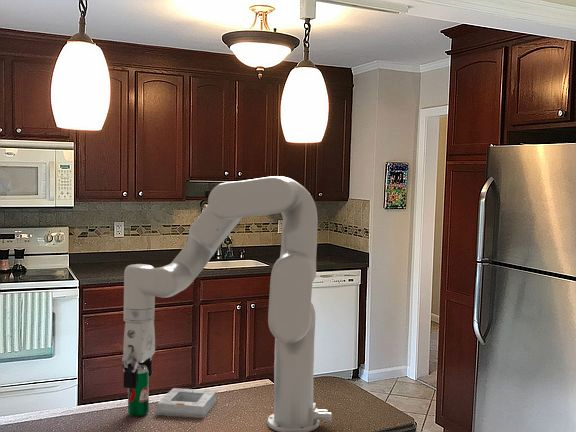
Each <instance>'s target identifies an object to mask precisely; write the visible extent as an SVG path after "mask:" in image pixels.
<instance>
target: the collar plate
mask: <svg viewBox="0 0 576 432" xmlns="http://www.w3.org/2000/svg"><path fill="white" fill-rule="evenodd" d="M216 403H217V390H212V389H211V390H209V389H208V390H207V389H195V388H194V389H192V388H177V387H173V388H172V389H171V390H169V391H168V392H167V393H166V394H165V396H163V397H162V398H161V399H160V400H159V401H158V402H157V403H156V405H157V408H156V409H157V410H156V411H157V412H156V413H157V414H156V416H161V417H162V416H163V417H180V418H191V419H192V418H195V419H204V418H205V417H206V416H207V415H208V413H209V412H210V411H211V410H212V408H213V407H214V405H215V404H216Z"/></svg>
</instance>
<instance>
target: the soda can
mask: <svg viewBox="0 0 576 432" xmlns="http://www.w3.org/2000/svg"><path fill="white" fill-rule="evenodd" d="M132 367H133V365H132ZM135 372H137V387H136V388H127V413H128V415H129V416H130V417H134V418H141V417H144V416H146V415H148V413H149V410H150V404H149V403H150V402H149V400H150V399H149V397H150V395H149V394H150V393H149V391H150V390H149V389H150V388H149V385H150V384H149V383H150V382H149V377H150V376H149V371H148V369H147V366H146V365H139V364H137V368H136V371H135Z"/></svg>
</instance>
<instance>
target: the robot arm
mask: <svg viewBox="0 0 576 432" xmlns="http://www.w3.org/2000/svg"><path fill="white" fill-rule="evenodd" d="M207 199H208V201H207V205H206V207H205V208H204V209H203V210H202V211H201V213H200V214H199V215H198V216H197V218H196V219H195V220H194V221H193V222H192V224H191V225H190V227H189V230H188V238H187V240H186V243H185V244H184V246H182V247H183V248H182V249H181V250H180V252H179V253H178V254H177V255H176V256H175V258H174V259H173V260H172V261H171V263H169V264H166V265H163V266H160V267H154V266H153V265H150V264H145V263H144V264H143V263H136V264H129V265H126V267H125V269H124V272H123V275H124V277H123V322H125V324H124V331H123V332H124V333H123V346H122V347H123V349H122V352H123V354H122V358H121V362H122V372H123V388H124V389H125V388H127V389H128V388H136V387H137V372H135V371H136V368H137V365H146V366H147V369H148V371H149V377H151V376H152V373H153V371H152V369H153V361H152V360H153V356H154V354H156V330H155V304H156V297H157V298H164V299H165V298H171V297H174V296H176V295H178V294H179V293H180V292H182V291H185V290H186V289H187V288H188V287H190V285H191V284H192V283H193V282H194V281H195V279H196V278H197V277H198V276H199V274H200V273H201V272H202V271H203V270H204V268H205V267H206V266H207V264H208V263H209V262H210V260H211V258H212V257H213V256H214V255H215V253H216V252H217V250H218V249H219V247H220V246H221V244H223V242H224V241H225V239H226V238H228V236H229V235H230V233H231V232H233V230H234V228H235V227H236V226H237V225H238V224H239V222H240V221H241V220H242V219H243V218H253V217H260V216H267V215H275V214H276V215H277V214H281V216H282V228H281V242H280V243H281V246H280V253H279V254H280V255H279V258H277V259H276V261H275V263H274V264H273V266H272V269H271V274H270V280H269V281H270V283H269V296H268V297H269V299H268V313H267V315H268V316H267V317H268V318H267V322H268V323H267V324H268V328H269V331H270V333H271V335H273V337H274V363H273V370H274V371H273V375H274V376H273V380H274V381H273V383H274V384H273V386H274V387H273V402H274V403H273V413H272V414H270V415H269V416H268V417H267V426H268V427H269V428H270V429H272V430H274V431H276V432H312V431H314V430H316V429H318V428H319V426H320V424H321V422H320V421H327V422H328V421H329V422H331V421H332V415H333V413H332V412H328V409H324V408H323V409H319V408H318V407H317V406H316V405H317V403H316V402H314V376H315V375H314V371H315V370H314V367H315V365H314V364H315V363H314V362H315V334H316V310H315V309H316V308H315V307H314V305H313V302H312V296H313V295H312V294H313V293H312V292H313V291H312V290H313V283H314V280H315V279H316V275H317V252H318V251H317V248H318V220H319V219H318V217H319V216H318V209H317V205H316V203H315V200H314V199H313V196H312V195H311V193H310V192H309V191H308V189H306V187H304V186H303V185H302V184H300V183H299V182H297V181H296V180H294V179H292V178H290V177H286V176H281V175H280V176H278V175H276V176H275V175H274V176H266V177H259V178H253V179H246V180H238V181H228V182H221V183H219V184H217V185H216V186H214V187H213V188H212V190H211V191H210V192H209V195H208V198H207ZM132 364H133V365H132ZM132 366H133V367H132Z"/></svg>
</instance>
